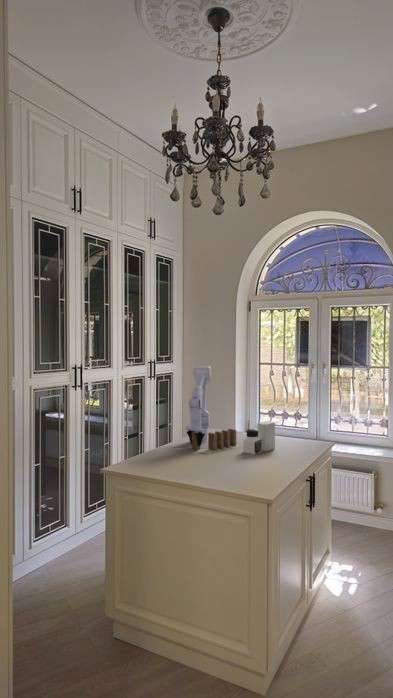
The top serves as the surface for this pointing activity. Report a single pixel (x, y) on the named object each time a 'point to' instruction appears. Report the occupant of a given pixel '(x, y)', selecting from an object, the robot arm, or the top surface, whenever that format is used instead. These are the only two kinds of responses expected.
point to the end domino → (194, 441)
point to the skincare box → (267, 435)
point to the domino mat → (215, 451)
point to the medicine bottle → (252, 442)
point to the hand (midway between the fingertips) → (195, 444)
